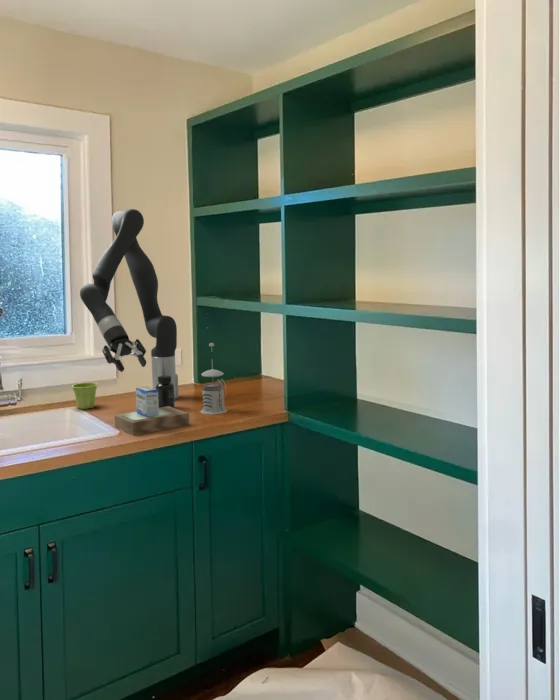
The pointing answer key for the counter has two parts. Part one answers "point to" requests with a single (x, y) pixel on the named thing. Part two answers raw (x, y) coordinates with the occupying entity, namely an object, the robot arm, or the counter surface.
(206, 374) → the french press
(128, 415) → the stand
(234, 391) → the counter surface
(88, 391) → the plant pot
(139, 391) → the medicine box
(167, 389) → the supplement bottle
